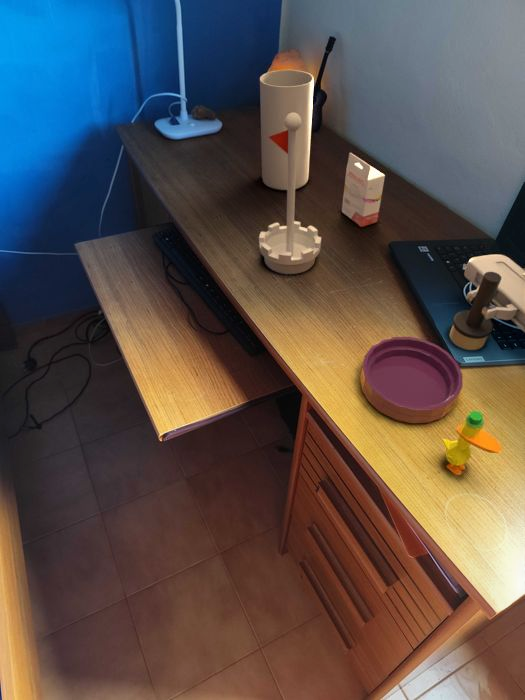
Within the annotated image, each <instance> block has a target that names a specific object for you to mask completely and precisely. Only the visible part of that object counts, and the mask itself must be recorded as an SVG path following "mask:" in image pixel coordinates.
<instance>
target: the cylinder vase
mask: <svg viewBox="0 0 525 700" xmlns="http://www.w3.org/2000/svg"><path fill="white" fill-rule="evenodd" d="M314 79H315V77H314V76H313V74H311V73H310V72H307V71H303V70H297V69H277V70H272V71H268V72H266V73H263V74H262V75H261V76H260V77H259V94H260V95H259V100H260V101H259V103H260V104H259V105H260V141H261V142H260V145H261V146H260V148H261V151H260V152H261V179H263V180H262V182H263V183H264V185H265V186H266V187H269V188H270V189H273V190H277V191H287V180H288V154H287V153H286V152H285V151H284V150H282V149H281V148H280V147H279V146H278V145H277V144H276V143H274V142H273V141H272V140H271V139H270V138H269V137H270V136H272V135H275V134H278V133H281V132H283V131H286V130H288V129H287V128H286V127H285V118H286V116H287V115H288V114H290V113H297V114H298V115H299V116H300V118H301V126H300V128H299V129H298V130H297V146H296V178H295V190H297V189H300V188H302V187H304V186H305V185H306V184H307V182H308V180H309V176H310V175H309V173H310V156H311V155H310V154H311V139H312V137H311V136H312V119H313V100H314V98H313V97H314V81H315V80H314Z"/></svg>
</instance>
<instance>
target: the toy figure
mask: <svg viewBox="0 0 525 700" xmlns="http://www.w3.org/2000/svg"><path fill="white" fill-rule="evenodd" d="M484 425H485V419H484V415H483V414H482V413H481V412H480V411H478V410H472V411H470V412H469V414H468V415H467V416H466V417H465V420H464V422H463V423H461V424H460V425H459V426H458V427H457V429H456V430H455V432H456V433H457V434H458V437H457V439H455V440H453V441H452V440H449V439H446V438H441V439H442V442H443V444H444V447H445V457H446V461H448V464H447V465H446V468H447V469H448V470H449V471H450V472H451V473H452V474H454V475H457V476H460V475H461V474H462V471H464V470H465V469H466V466H465V465H464V464H467V463H468V462H469V460H470V459H471V457H472V448H471V447H470V446H474V447H476V448H478V449H480V450H481V451H484V452H487V453H491V454H499V453H501V451H502V449H503V447H502V446H501V445H500V443H499V442H498V441H497V439H495V438H494V437H493V436H492V435H491V434H489V433H488V432H486V431H485V430H484V429H483V426H484Z"/></svg>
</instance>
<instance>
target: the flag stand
mask: <svg viewBox="0 0 525 700" xmlns="http://www.w3.org/2000/svg"><path fill="white" fill-rule="evenodd" d="M300 126H301V118H300V116H299V115H298V114H297V113H290V114H288V115H287V116H286V118H285V127H286V128H287V129H288V130H286V131H283V132H281V133H278V134H275V135H272V136H270V137H269V138H270V139H271V140H272V141H273V142H274V143H276V144H277V145H278V146H279V147H280V148H281V149H282V150H284V151H285V152H286V153H287V154H288V180H287V190H286V225H280V223H279V222H278V221H277V222H274V223H272V224H269V225H268V226H267V230H266V231H260V233H259V236H258V247H259V252H260V254H261V256H263V257H264V263H265V265H266V266H267V267H268V268H269V269H270V270H272V271H273V272H276V273H279V274H284V275H295V274H300V273H304V272H306V271H308V270H310V269H311V268H312V267H313V266H314V264H315V260H316V257H318V255H319V254H320V252H321V246H322V236H319V230H318V229H317V228H316V227H314V226H313V225H308V226H307V227H305V226H304V227H303V226H301V225H302V223H301V221H296V220H295V211H296V210H295V204H296V189H295V178H296V146H297V130H298V129H299V128H300Z"/></svg>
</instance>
